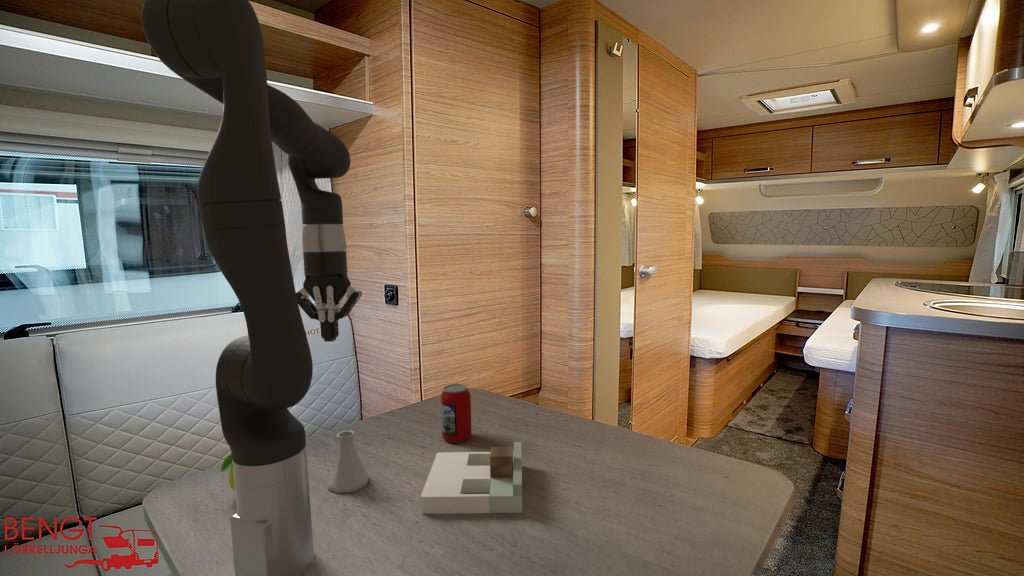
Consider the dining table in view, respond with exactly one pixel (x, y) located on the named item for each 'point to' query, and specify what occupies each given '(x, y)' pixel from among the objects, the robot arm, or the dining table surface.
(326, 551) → the dining table surface
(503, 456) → the walnut block
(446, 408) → the beverage can
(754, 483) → the dining table surface
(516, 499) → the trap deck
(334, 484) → the flask
